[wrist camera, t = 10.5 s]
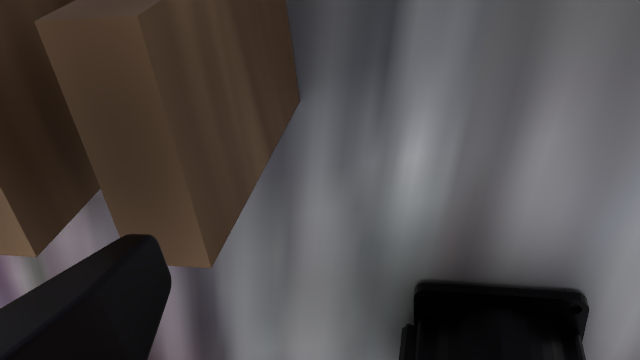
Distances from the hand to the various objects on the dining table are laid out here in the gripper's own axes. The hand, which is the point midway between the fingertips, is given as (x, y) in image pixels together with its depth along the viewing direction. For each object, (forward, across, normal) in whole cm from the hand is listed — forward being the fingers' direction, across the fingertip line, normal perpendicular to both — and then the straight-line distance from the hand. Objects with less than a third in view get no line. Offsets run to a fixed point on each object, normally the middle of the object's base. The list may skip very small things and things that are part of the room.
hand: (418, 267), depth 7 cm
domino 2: (+11, +6, 0) cm, 12 cm away
